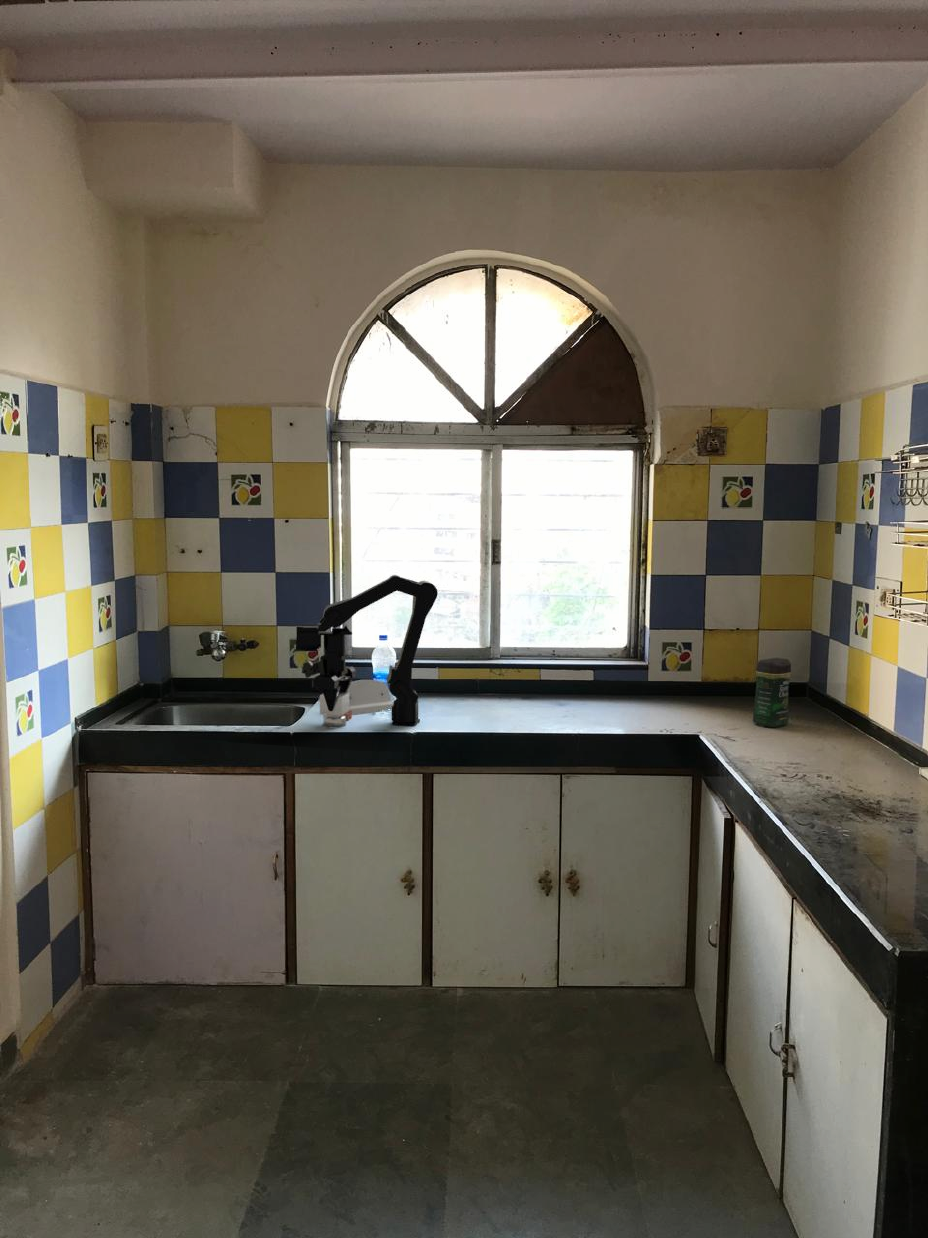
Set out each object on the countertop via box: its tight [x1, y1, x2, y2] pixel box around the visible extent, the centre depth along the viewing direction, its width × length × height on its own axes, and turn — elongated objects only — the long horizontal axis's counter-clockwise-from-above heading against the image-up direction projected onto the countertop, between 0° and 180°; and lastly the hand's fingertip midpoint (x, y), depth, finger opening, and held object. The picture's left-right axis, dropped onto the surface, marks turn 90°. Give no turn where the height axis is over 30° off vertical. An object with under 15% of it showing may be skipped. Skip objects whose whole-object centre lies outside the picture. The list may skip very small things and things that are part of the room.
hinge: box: [347, 679, 394, 716], centre depth 280 cm, size 17×5×10 cm, turn 124°
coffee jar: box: [752, 657, 792, 728], centre depth 267 cm, size 10×8×19 cm
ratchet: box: [322, 710, 353, 728], centre depth 264 cm, size 6×12×6 cm, turn 168°
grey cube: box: [319, 692, 349, 715], centre depth 261 cm, size 6×6×5 cm
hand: (334, 708), depth 261 cm, fingers closed on grey cube, 6 cm apart
